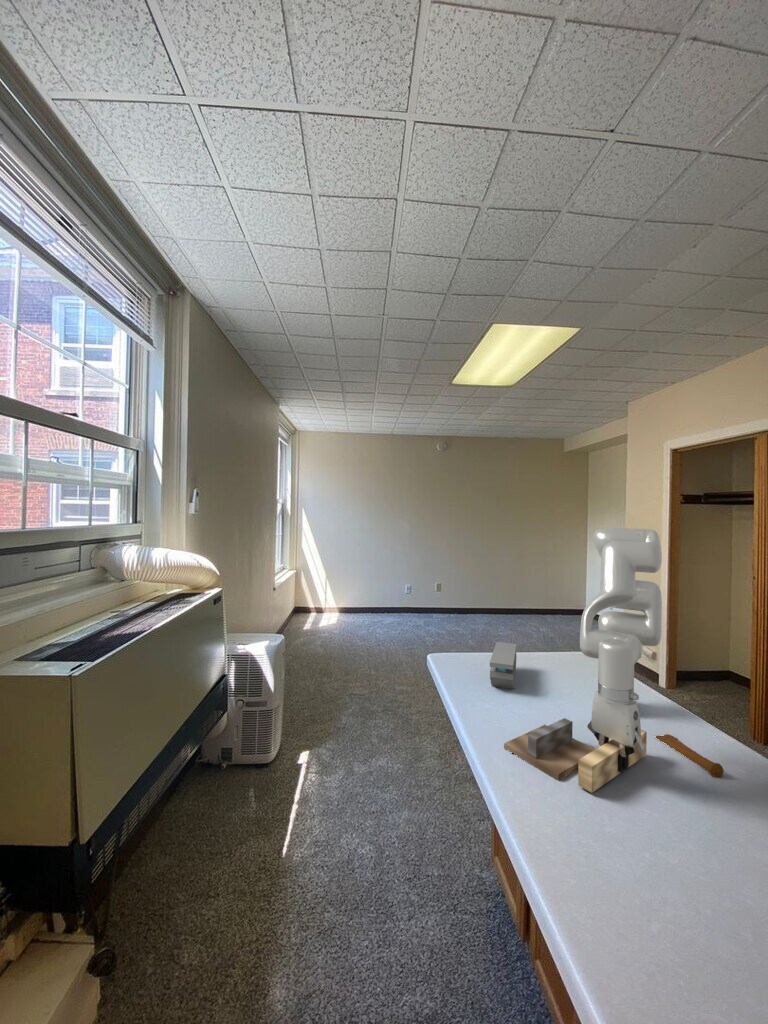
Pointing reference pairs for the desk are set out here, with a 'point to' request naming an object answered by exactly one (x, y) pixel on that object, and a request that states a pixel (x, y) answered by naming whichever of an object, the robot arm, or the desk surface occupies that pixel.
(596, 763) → the oak batten
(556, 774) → the stand
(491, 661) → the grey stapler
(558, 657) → the desk surface
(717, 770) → the primitive tool
